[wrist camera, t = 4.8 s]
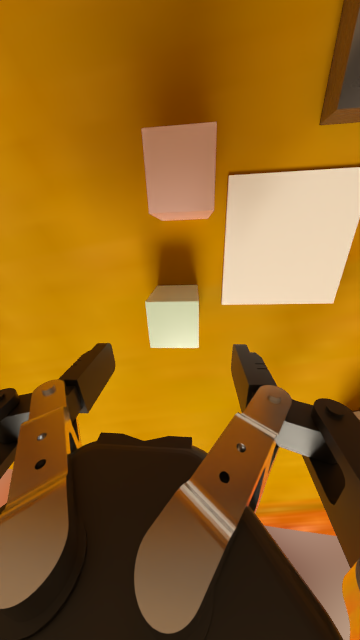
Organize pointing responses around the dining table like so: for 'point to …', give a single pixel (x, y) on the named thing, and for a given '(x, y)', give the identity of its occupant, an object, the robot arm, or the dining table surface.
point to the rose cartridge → (180, 170)
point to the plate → (288, 235)
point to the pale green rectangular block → (173, 316)
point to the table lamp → (345, 70)
